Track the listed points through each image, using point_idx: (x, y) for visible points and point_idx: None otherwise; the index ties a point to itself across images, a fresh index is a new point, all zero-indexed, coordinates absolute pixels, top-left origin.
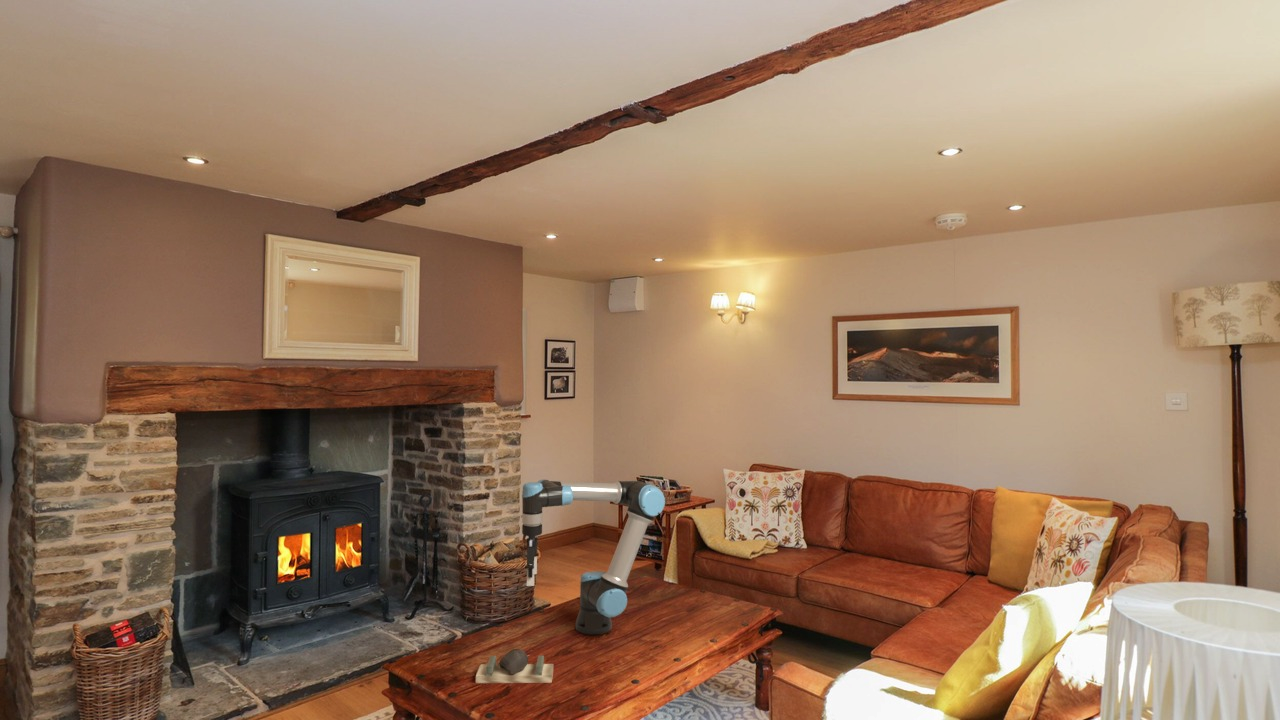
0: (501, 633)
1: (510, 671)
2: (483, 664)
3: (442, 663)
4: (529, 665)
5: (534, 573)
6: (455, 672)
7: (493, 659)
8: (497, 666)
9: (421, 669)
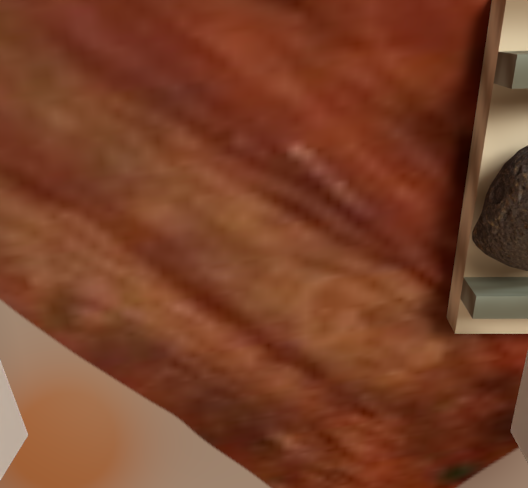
0: (75, 294)
1: None
2: (459, 323)
3: (365, 437)
4: (504, 126)
5: (4, 389)
6: (443, 391)
7: (516, 301)
8: (488, 268)
9: (406, 481)
